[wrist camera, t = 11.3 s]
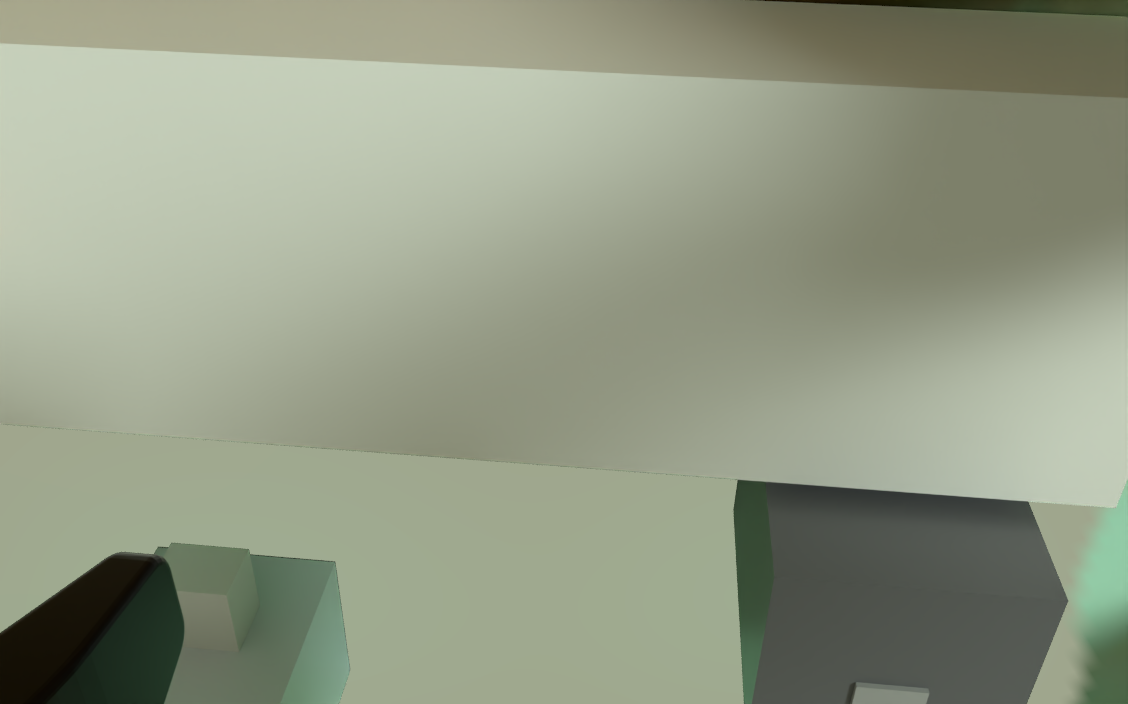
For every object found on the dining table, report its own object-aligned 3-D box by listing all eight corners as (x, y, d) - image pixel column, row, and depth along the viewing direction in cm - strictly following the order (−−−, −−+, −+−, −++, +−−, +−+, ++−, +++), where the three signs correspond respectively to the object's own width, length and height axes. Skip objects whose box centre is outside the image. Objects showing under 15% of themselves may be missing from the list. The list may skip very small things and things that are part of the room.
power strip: (1164, 18, 17) (1294, 116, 13) (1047, 373, 21) (1124, 524, 17) (-123, -38, 19) (-321, 37, 15) (-11, 302, 22) (-146, 427, 19)
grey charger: (328, 506, 25) (236, 722, 20) (350, 669, 28) (277, 891, 23) (143, 491, 25) (8, 700, 20) (186, 655, 28) (79, 871, 23)
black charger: (1000, 302, 20) (1105, 518, 15) (936, 525, 23) (1004, 765, 18) (765, 287, 21) (790, 494, 16) (733, 509, 24) (746, 741, 19)
